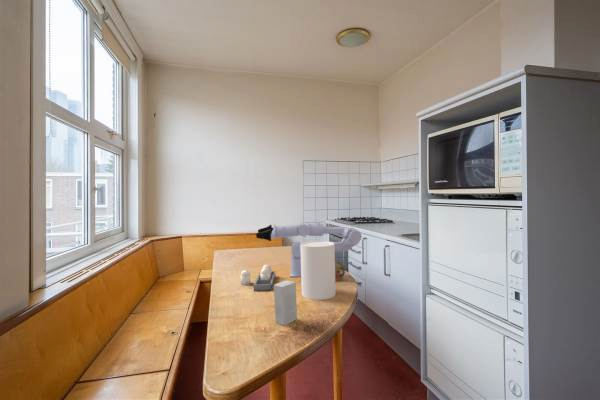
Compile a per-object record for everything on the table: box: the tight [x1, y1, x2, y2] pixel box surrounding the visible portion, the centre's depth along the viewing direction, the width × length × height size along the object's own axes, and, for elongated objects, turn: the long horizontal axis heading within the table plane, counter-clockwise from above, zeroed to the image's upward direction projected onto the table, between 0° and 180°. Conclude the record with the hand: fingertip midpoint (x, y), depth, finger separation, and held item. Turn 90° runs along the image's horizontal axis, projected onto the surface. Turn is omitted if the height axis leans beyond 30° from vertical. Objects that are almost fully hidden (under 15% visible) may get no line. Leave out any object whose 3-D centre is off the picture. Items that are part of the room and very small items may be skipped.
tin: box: [335, 261, 346, 282], centre depth 132 cm, size 15×3×8 cm, turn 73°
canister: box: [300, 240, 337, 301], centre depth 114 cm, size 14×14×20 cm
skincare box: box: [273, 279, 298, 326], centre depth 90 cm, size 6×4×12 cm
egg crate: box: [253, 263, 276, 292], centre depth 130 cm, size 7×21×7 cm, turn 0°
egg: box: [240, 269, 252, 286], centre depth 130 cm, size 4×4×6 cm
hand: (257, 233), depth 141 cm, fingers open, 7 cm apart
